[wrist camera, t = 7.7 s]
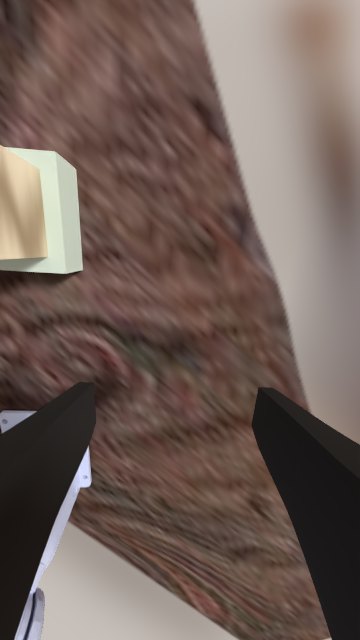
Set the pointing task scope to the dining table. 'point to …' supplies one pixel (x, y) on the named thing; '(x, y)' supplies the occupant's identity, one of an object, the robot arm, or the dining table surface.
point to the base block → (54, 215)
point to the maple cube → (21, 209)
